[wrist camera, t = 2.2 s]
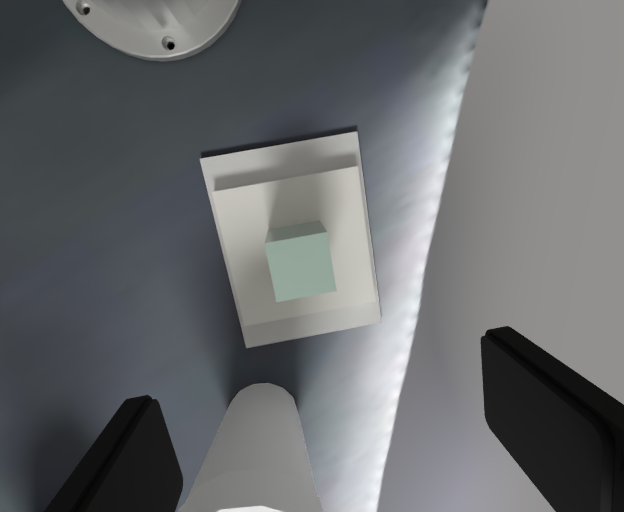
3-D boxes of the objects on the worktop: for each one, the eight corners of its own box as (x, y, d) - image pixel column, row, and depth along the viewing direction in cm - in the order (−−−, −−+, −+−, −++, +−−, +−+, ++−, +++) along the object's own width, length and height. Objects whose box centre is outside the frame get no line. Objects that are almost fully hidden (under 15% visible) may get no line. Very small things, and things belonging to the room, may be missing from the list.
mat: (201, 158, 26) (199, 158, 25) (356, 131, 26) (357, 131, 26) (246, 345, 30) (246, 348, 29) (380, 320, 30) (381, 322, 30)
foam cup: (329, 387, 32) (358, 532, 19) (290, 464, 33) (293, 643, 21) (232, 354, 30) (193, 487, 17) (196, 436, 32) (138, 611, 19)
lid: (214, 191, 26) (194, 197, 20) (355, 166, 26) (374, 165, 21) (245, 321, 29) (235, 359, 23) (372, 297, 29) (394, 328, 23)
